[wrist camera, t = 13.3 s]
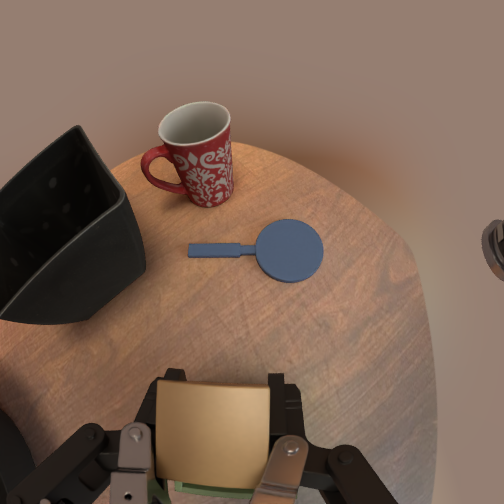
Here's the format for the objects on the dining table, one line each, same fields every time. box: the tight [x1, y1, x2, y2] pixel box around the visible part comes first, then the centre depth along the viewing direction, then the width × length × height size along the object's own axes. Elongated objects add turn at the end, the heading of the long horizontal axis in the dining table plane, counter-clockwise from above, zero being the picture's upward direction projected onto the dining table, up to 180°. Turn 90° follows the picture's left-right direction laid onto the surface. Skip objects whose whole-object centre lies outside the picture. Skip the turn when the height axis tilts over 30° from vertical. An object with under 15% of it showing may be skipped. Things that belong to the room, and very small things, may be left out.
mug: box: [141, 102, 234, 207], centre depth 37 cm, size 13×9×14 cm
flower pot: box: [0, 125, 146, 325], centre depth 31 cm, size 19×19×17 cm
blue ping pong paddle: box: [188, 219, 323, 283], centre depth 38 cm, size 18×9×1 cm, turn 89°
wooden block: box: [156, 380, 270, 489], centre depth 12 cm, size 4×4×8 cm
